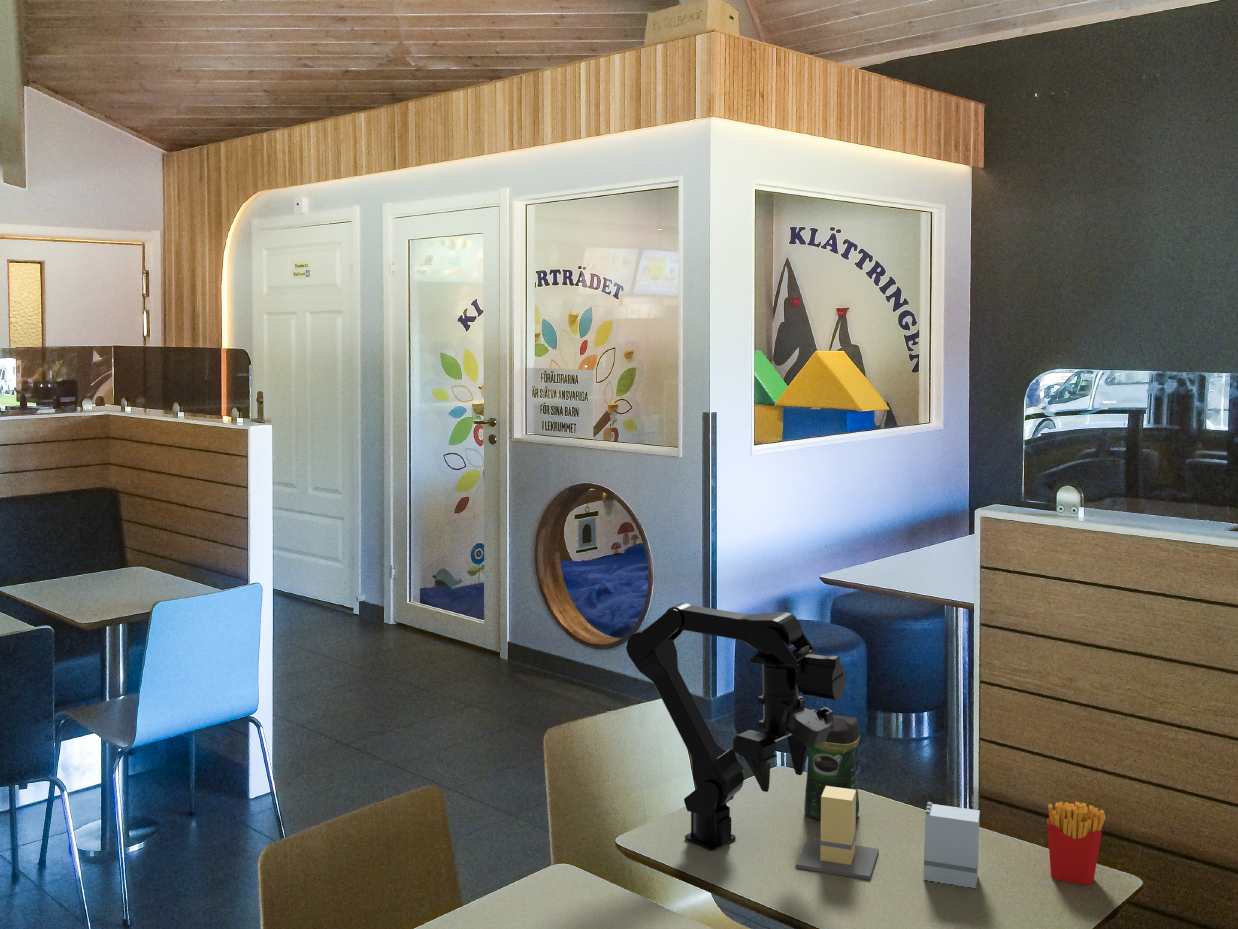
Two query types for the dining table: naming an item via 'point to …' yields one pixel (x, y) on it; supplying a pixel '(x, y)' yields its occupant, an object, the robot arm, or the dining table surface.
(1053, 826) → the french fries
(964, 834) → the knobbed pale slab
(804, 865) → the mat
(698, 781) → the robot arm
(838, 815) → the block
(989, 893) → the dining table surface
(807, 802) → the coffee jar
